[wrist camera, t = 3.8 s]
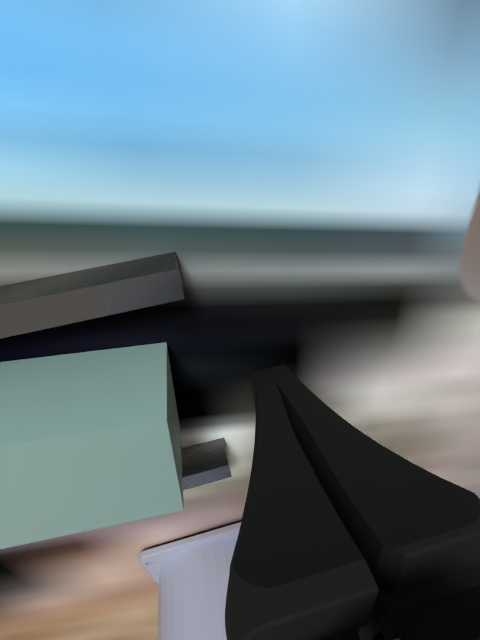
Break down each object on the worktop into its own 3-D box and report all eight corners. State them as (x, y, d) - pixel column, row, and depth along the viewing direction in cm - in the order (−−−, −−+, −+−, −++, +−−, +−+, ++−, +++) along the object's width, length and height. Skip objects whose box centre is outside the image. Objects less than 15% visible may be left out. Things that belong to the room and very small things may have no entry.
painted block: (179, 424, 15) (183, 510, 11) (19, 450, 14) (-28, 554, 10) (166, 340, 12) (166, 420, 9) (-35, 363, 11) (-123, 466, 8)
